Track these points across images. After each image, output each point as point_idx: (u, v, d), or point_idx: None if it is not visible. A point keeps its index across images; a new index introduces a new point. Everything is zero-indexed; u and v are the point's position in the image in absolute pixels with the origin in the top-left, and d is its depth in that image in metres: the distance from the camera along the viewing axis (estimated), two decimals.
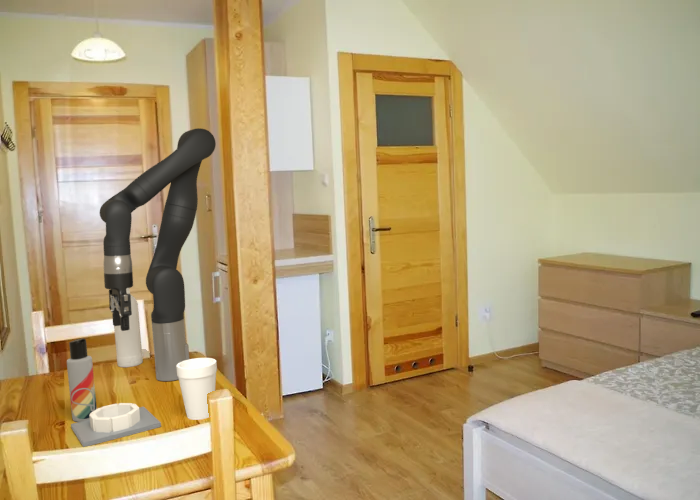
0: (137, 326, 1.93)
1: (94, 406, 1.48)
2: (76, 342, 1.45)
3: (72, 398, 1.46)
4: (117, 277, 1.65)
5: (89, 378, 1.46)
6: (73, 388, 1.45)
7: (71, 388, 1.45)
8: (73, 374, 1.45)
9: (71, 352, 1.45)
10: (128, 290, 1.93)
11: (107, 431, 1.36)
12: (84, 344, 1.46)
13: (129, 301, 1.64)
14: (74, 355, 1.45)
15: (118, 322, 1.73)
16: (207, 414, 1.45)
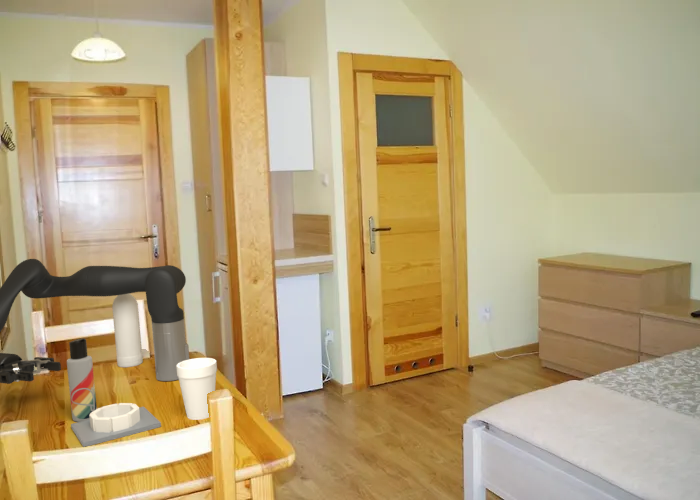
0: (137, 326, 1.93)
1: (94, 406, 1.48)
2: (76, 342, 1.45)
3: (72, 398, 1.46)
4: None
5: (89, 378, 1.46)
6: (73, 388, 1.45)
7: (71, 388, 1.45)
8: (73, 374, 1.45)
9: (71, 352, 1.45)
10: None
11: (107, 431, 1.36)
12: (84, 344, 1.46)
13: None
14: (74, 355, 1.45)
15: None
16: (207, 414, 1.45)
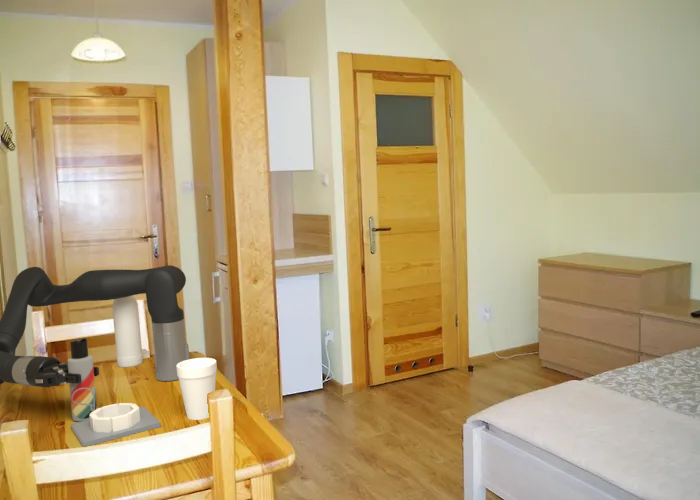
0: (137, 326, 1.93)
1: (94, 406, 1.48)
2: (77, 342, 1.45)
3: (72, 398, 1.46)
4: None
5: (90, 378, 1.47)
6: (73, 388, 1.45)
7: (71, 388, 1.45)
8: (74, 373, 1.45)
9: (72, 351, 1.45)
10: None
11: (107, 431, 1.36)
12: (85, 344, 1.47)
13: None
14: (75, 354, 1.45)
15: None
16: (207, 414, 1.45)
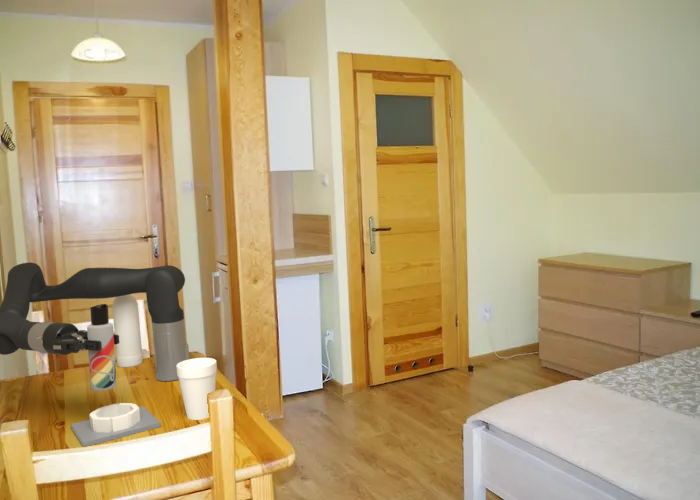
0: (137, 326, 1.93)
1: (114, 375, 1.41)
2: (98, 307, 1.38)
3: (91, 366, 1.39)
4: None
5: (110, 346, 1.40)
6: (93, 355, 1.38)
7: (91, 355, 1.39)
8: None
9: (92, 317, 1.39)
10: None
11: (107, 431, 1.36)
12: (106, 310, 1.40)
13: None
14: (95, 321, 1.38)
15: None
16: (207, 414, 1.45)
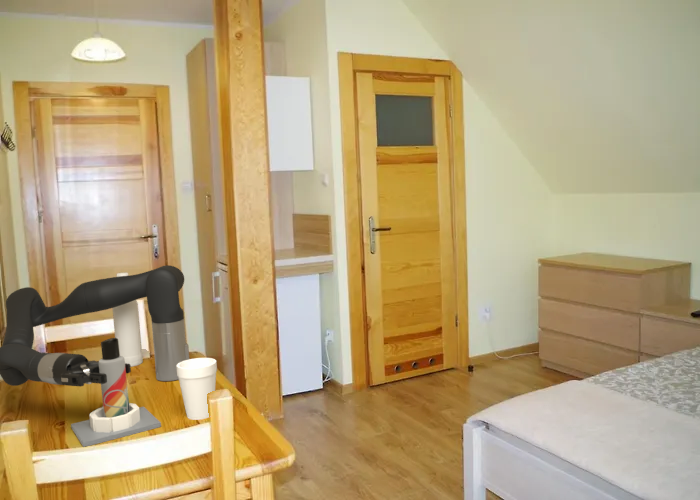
0: (137, 326, 1.93)
1: (127, 408, 1.42)
2: (108, 342, 1.39)
3: (105, 400, 1.39)
4: None
5: (122, 379, 1.40)
6: (106, 390, 1.39)
7: (104, 390, 1.39)
8: None
9: (103, 352, 1.39)
10: None
11: (107, 431, 1.36)
12: (116, 344, 1.40)
13: None
14: (106, 355, 1.39)
15: None
16: (207, 414, 1.45)
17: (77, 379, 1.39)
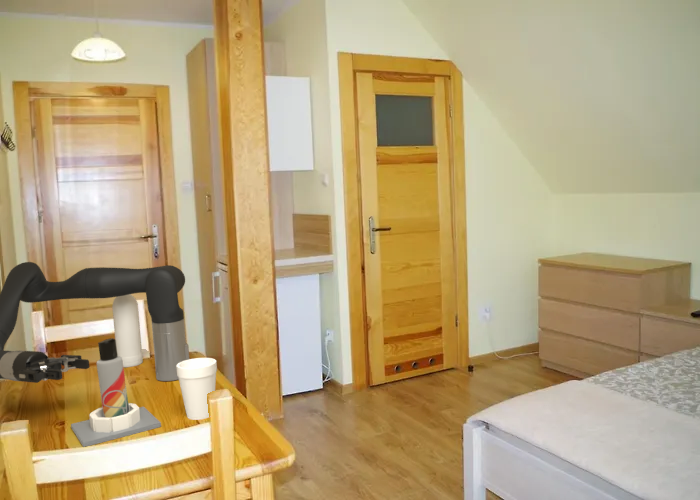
0: (137, 326, 1.93)
1: (126, 408, 1.42)
2: (106, 343, 1.38)
3: (104, 401, 1.39)
4: None
5: (120, 380, 1.40)
6: (104, 391, 1.39)
7: (102, 391, 1.39)
8: (104, 376, 1.38)
9: (101, 353, 1.39)
10: None
11: (107, 431, 1.36)
12: (114, 344, 1.40)
13: None
14: (104, 356, 1.39)
15: None
16: (207, 414, 1.45)
17: None
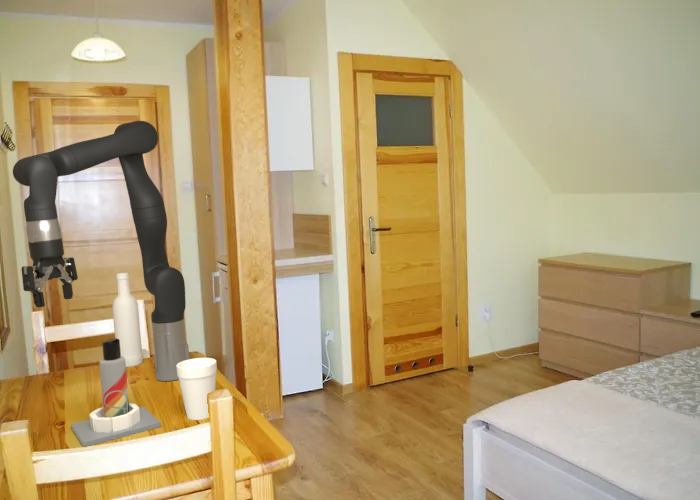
0: (137, 326, 1.93)
1: (127, 409, 1.42)
2: (110, 342, 1.39)
3: (105, 401, 1.39)
4: None
5: (123, 380, 1.40)
6: (106, 390, 1.39)
7: (104, 390, 1.39)
8: (106, 376, 1.38)
9: (104, 353, 1.39)
10: (128, 290, 1.93)
11: (107, 431, 1.36)
12: (118, 344, 1.40)
13: None
14: (107, 356, 1.39)
15: None
16: (207, 414, 1.45)
17: (35, 271, 1.45)
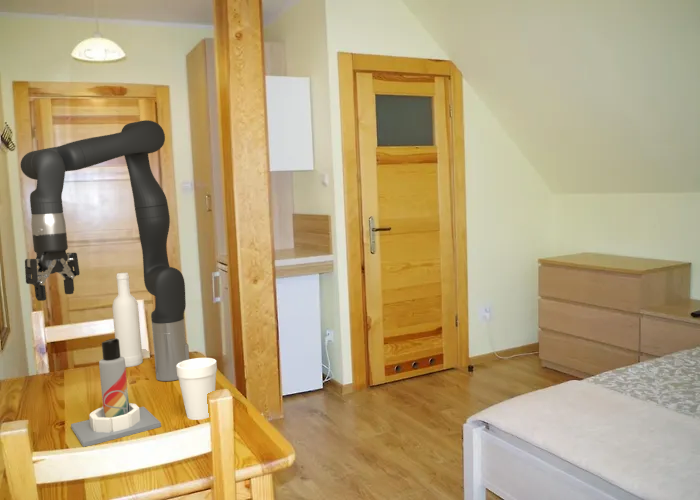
0: (137, 326, 1.93)
1: (127, 409, 1.42)
2: (109, 342, 1.39)
3: (105, 401, 1.39)
4: None
5: (122, 380, 1.40)
6: (106, 390, 1.39)
7: (104, 390, 1.39)
8: (106, 376, 1.38)
9: (104, 353, 1.39)
10: (128, 290, 1.93)
11: (107, 431, 1.36)
12: (117, 344, 1.40)
13: None
14: (107, 356, 1.39)
15: None
16: (207, 414, 1.45)
17: (37, 265, 1.45)
